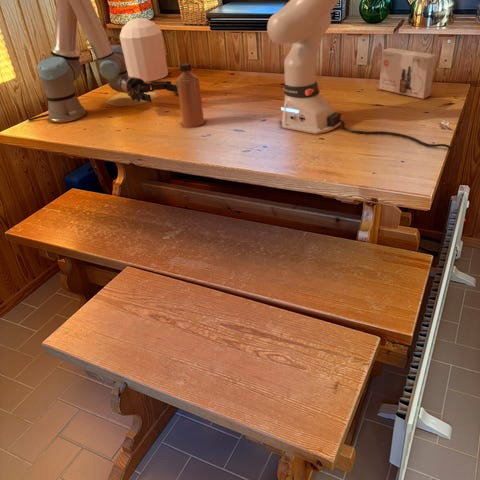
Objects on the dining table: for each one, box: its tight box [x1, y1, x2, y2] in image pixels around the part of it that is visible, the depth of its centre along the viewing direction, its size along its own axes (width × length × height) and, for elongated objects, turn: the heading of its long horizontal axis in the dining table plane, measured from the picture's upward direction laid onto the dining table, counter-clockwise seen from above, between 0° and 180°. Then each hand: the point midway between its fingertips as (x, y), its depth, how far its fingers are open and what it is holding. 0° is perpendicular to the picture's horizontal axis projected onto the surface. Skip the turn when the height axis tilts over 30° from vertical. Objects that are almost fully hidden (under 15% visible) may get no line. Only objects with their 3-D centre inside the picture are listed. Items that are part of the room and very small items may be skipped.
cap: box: [179, 62, 192, 73], centre depth 168 cm, size 4×4×2 cm
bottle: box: [175, 70, 205, 128], centre depth 174 cm, size 8×8×22 cm
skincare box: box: [378, 47, 437, 100], centre depth 184 cm, size 21×6×16 cm, turn 40°
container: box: [119, 17, 169, 83], centre depth 235 cm, size 21×21×28 cm
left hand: (163, 93), depth 187 cm, fingers open, 13 cm apart
